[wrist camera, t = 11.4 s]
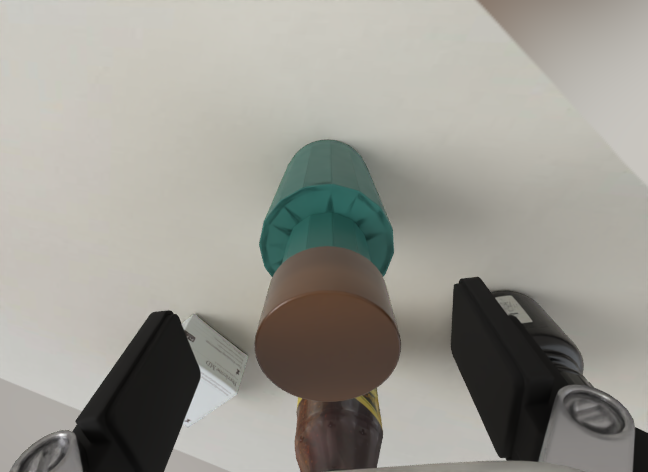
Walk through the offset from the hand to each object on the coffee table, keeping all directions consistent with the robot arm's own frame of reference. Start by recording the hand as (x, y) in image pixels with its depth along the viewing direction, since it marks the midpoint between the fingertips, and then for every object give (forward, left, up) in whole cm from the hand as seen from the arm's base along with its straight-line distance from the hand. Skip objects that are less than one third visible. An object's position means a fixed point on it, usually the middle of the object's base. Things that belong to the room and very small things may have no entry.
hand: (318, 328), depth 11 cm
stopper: (0, 0, -5) cm, 5 cm away
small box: (+17, -16, -19) cm, 30 cm away
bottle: (0, 0, -18) cm, 18 cm away
